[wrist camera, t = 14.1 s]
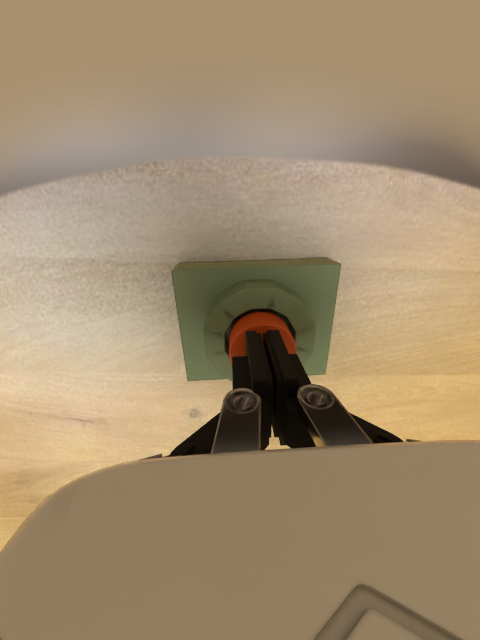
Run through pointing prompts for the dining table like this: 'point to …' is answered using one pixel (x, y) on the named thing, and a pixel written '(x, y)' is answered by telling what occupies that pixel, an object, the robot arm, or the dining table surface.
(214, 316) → the button block
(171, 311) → the dining table surface
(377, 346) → the dining table surface
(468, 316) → the dining table surface
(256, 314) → the stop button
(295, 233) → the dining table surface
